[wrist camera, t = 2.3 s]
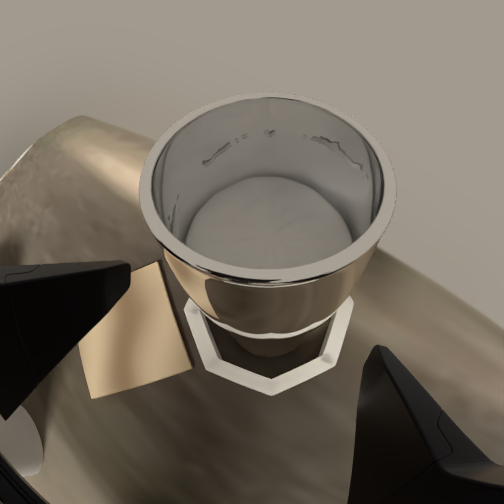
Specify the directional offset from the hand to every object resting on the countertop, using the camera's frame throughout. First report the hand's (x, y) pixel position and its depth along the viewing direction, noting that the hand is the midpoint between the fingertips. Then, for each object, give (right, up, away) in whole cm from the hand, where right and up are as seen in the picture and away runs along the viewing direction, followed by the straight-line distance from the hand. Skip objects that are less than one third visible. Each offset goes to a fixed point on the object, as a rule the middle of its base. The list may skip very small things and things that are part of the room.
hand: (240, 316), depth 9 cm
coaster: (-10, -4, +11) cm, 15 cm away
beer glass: (+2, -3, +11) cm, 11 cm away
